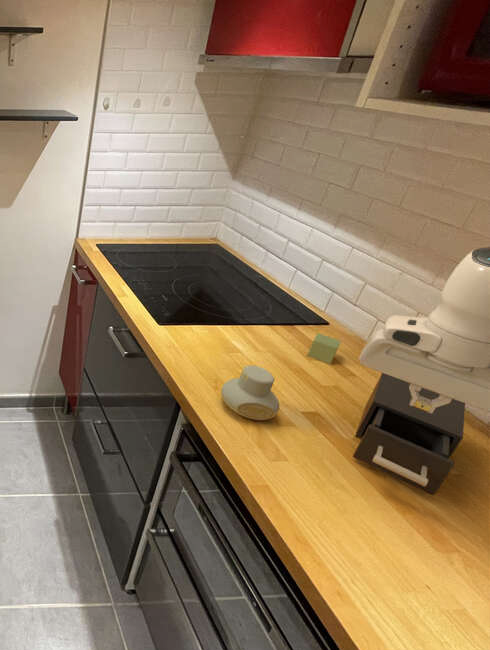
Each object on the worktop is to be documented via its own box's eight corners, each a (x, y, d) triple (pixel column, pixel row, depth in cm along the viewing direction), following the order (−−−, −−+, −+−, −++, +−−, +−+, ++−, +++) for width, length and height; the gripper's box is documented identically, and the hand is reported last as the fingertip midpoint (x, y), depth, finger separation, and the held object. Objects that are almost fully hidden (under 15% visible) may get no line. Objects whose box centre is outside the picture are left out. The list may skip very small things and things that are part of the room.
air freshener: (223, 416, 98) (236, 380, 94) (214, 391, 105) (225, 357, 101) (279, 427, 95) (295, 390, 91) (266, 401, 103) (280, 366, 98)
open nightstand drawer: (431, 513, 77) (452, 481, 74) (347, 471, 84) (364, 440, 81) (438, 455, 88) (457, 425, 85) (364, 422, 96) (379, 394, 93)
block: (334, 356, 119) (341, 341, 117) (330, 364, 116) (337, 348, 113) (311, 348, 122) (318, 332, 120) (307, 355, 119) (313, 339, 117)
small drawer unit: (438, 474, 85) (463, 437, 81) (354, 436, 93) (373, 400, 89) (443, 435, 94) (465, 400, 90) (366, 403, 102) (383, 370, 99)
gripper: (555, 364, 68) (508, 432, 73) (379, 312, 81) (351, 372, 87) (560, 383, 64) (509, 453, 70) (374, 324, 77) (345, 387, 83)
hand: (420, 407), depth 78 cm, fingers closed
